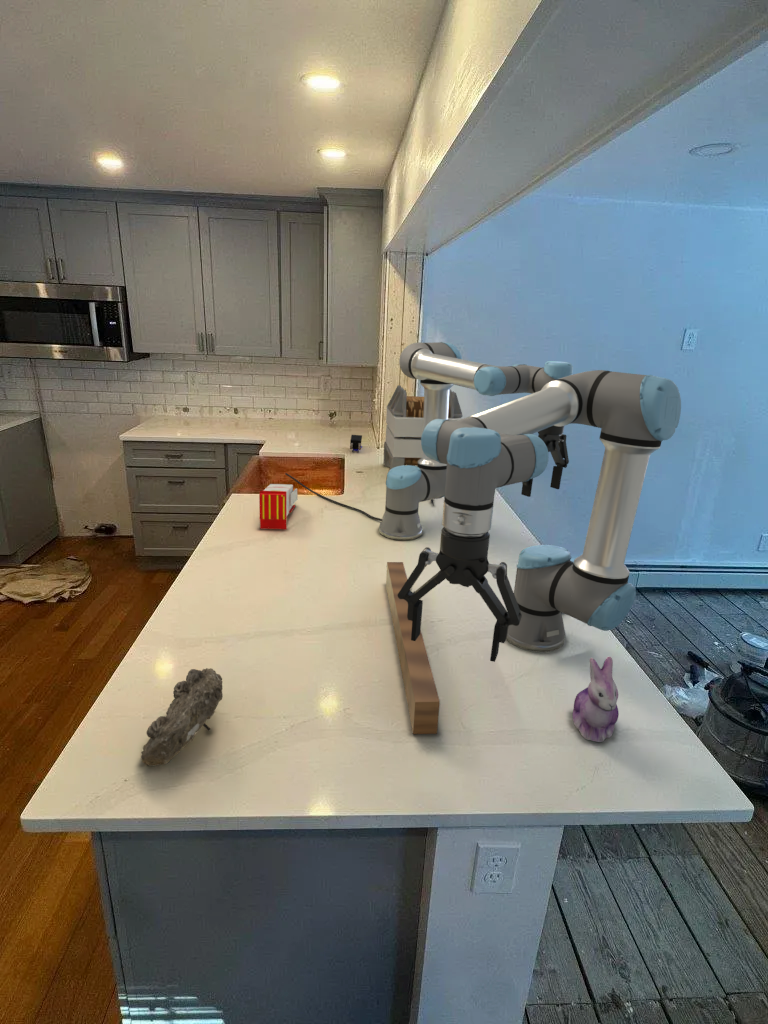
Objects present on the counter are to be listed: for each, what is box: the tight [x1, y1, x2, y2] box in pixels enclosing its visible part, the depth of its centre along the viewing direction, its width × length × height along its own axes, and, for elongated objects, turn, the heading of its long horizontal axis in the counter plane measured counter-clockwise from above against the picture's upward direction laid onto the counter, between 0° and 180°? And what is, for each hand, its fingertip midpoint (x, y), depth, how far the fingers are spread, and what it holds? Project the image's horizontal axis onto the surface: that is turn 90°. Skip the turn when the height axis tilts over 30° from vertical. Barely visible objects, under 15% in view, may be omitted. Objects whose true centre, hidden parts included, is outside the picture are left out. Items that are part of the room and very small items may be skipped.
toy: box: [258, 483, 299, 530], centre depth 210 cm, size 12×13×30 cm
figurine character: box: [349, 434, 363, 453], centre depth 311 cm, size 7×8×15 cm
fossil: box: [140, 667, 224, 767], centre depth 103 cm, size 22×10×15 cm
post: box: [385, 561, 441, 735], centre depth 133 cm, size 60×5×7 cm, turn 5°
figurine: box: [571, 656, 620, 743], centre depth 107 cm, size 9×10×15 cm
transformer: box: [383, 384, 463, 471], centre depth 268 cm, size 34×33×41 cm
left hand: (540, 491), depth 165 cm, fingers open, 13 cm apart
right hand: (453, 646), depth 95 cm, fingers open, 13 cm apart
